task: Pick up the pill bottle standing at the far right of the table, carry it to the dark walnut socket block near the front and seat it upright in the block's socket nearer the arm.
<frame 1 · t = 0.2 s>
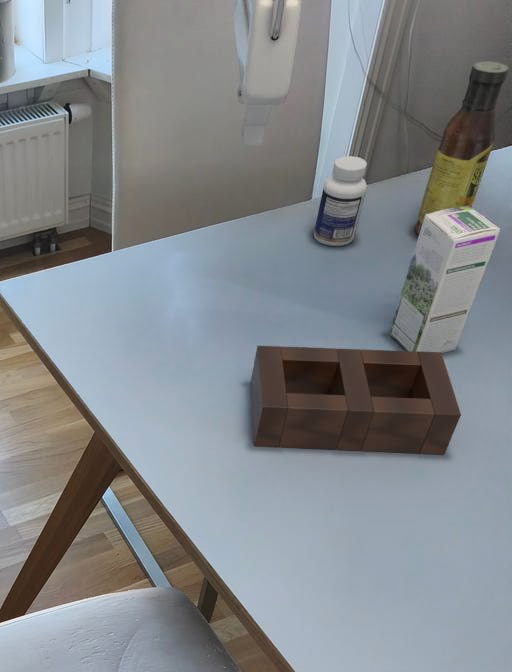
hand: (248, 121, 80), 26 cm above the table, tool pointing down, fingers open, 8 cm apart
socket block: (342, 418, 95), on the table
sauce bottle: (436, 234, 120), on the table
pill bottle: (332, 239, 120), on the table
syrup box: (420, 344, 104), on the table
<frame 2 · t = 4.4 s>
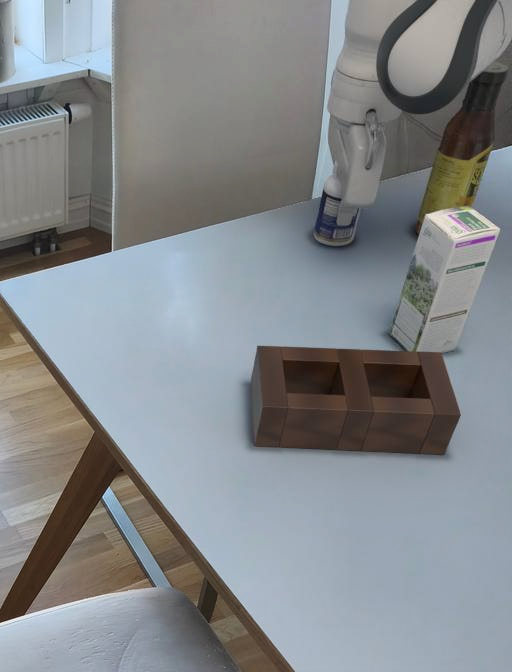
hand: (339, 210, 117), 4 cm above the table, tool pointing down, fingers closed on pill bottle, 5 cm apart
pill bottle: (332, 239, 120), on the table, touching gripper
everything else where it was.
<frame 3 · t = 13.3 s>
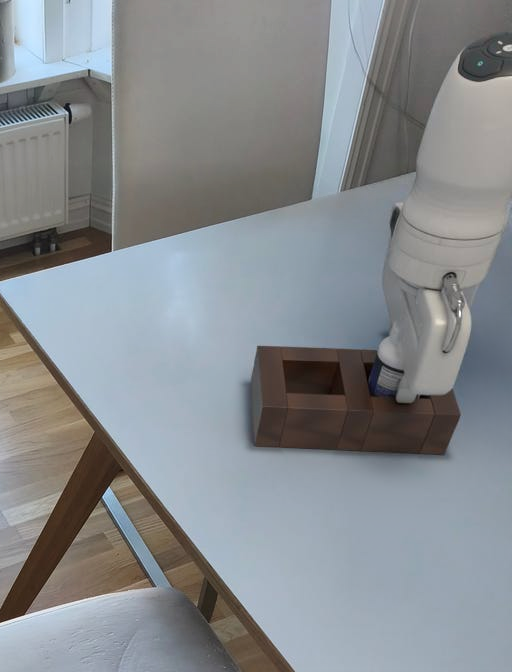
hand: (398, 378, 91), 5 cm above the table, tool pointing down, fingers closed on pill bottle, 5 cm apart
pill bottle: (386, 409, 94), point 1 cm above the table, touching gripper
everything else where it was.
when the fingers open (6 cm above the table, at t = 22.8 s): pill bottle drops 3 cm, resting in socket block.
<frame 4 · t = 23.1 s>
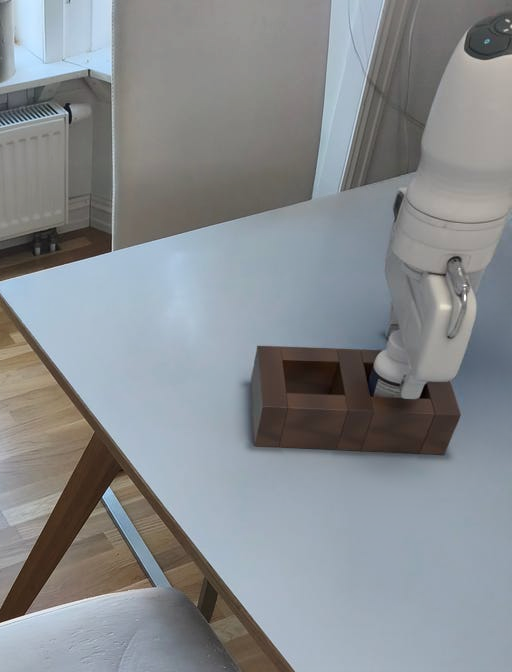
hand: (401, 366, 89), 7 cm above the table, tool pointing down, fingers open, 8 cm apart
pill bottle: (382, 421, 95), resting in socket block
everything else where it was.
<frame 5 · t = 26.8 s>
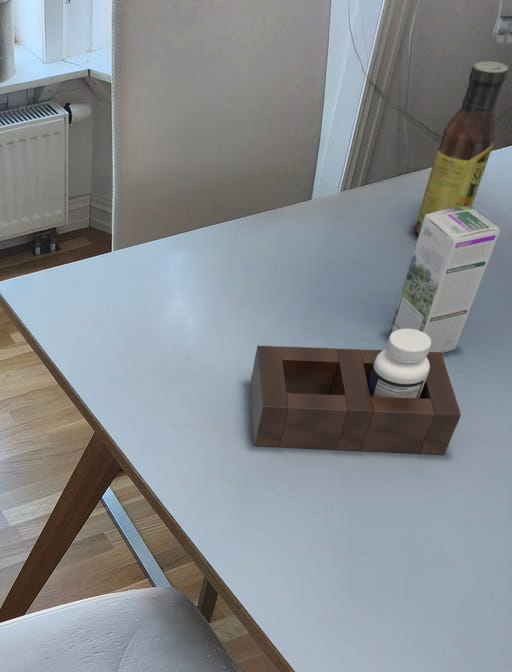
nothing on the table moved.
at the end: pill bottle 0.1 cm from the target spot in the socket block, point 0.0 cm above the socket block's base; pill bottle tilted 0°; the gripper is holding nothing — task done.
